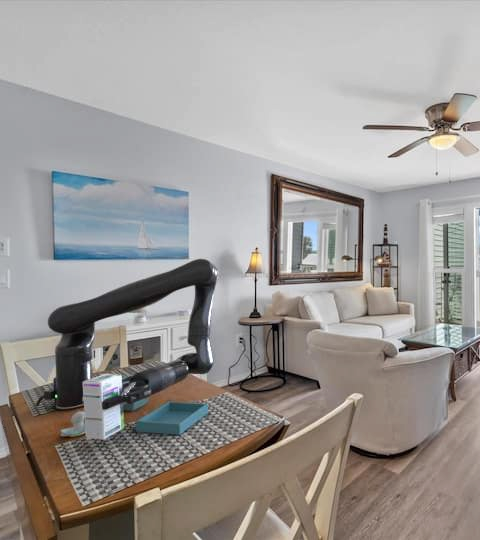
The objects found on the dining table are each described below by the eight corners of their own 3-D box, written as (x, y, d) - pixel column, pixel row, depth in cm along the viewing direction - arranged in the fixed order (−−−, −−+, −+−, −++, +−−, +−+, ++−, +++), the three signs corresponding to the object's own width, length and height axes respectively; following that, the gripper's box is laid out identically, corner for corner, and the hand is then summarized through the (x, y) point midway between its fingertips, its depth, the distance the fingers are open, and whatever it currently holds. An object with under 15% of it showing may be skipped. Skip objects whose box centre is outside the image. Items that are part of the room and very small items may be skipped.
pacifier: (56, 436, 90) (64, 442, 87) (55, 413, 90) (63, 418, 87) (89, 425, 96) (98, 430, 93) (88, 403, 96) (97, 408, 93)
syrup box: (103, 440, 82) (101, 382, 81) (84, 437, 83) (82, 380, 82) (124, 428, 87) (122, 374, 87) (106, 426, 88) (104, 372, 88)
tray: (135, 431, 92) (135, 421, 92) (169, 410, 105) (169, 401, 105) (179, 434, 90) (179, 424, 90) (208, 412, 103) (208, 403, 103)
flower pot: (155, 402, 111) (154, 376, 111) (133, 414, 102) (132, 385, 102) (131, 401, 112) (131, 374, 112) (108, 412, 104) (107, 384, 103)
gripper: (135, 365, 100) (72, 386, 84) (172, 369, 96) (114, 392, 80) (136, 390, 101) (74, 415, 85) (173, 395, 96) (115, 423, 80)
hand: (93, 404), depth 82 cm, fingers closed on syrup box, 6 cm apart
